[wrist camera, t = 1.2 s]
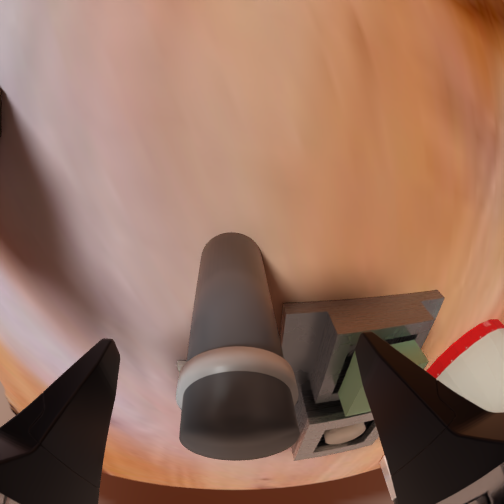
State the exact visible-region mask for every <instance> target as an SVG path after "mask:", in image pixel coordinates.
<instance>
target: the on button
mask: <svg viewBox="0 0 504 504" xmlns="http://www.w3.org/2000/svg"><path fill="white" fill-rule="evenodd" d="M391 346H392V347H394V348H395V349H396V350H398V351H399V352H400V353H402V354H403V355H405V356H406V357H407V358H409V359H410V360H411V361H413V362H414V363H415V364H417V365H418V366H420V367H421V368H422V369H424V368H425V367H426V365H427V363H428V362H429V361H428V360H427V358H426V357H425V355H424V354H423V352H422V351H421V349H420V347H419V346H418V344H417V343H416V341H415V340H411V341H406V342H401V343H396V344H391ZM338 396H339V399H340V402H341V405H342V408H343V411H344V414H345V417H347V416H352V415H356V414H361V413H365V412H369V411H371V409H370V406H369V403H368V400H367V397H366V394H365V391H364V388H363V385H362V380H361V376H360V371H359V367H358V363H357V358H356V354H355V351H354V354H353V357H352V359H351V362H350V364H349V367H348V370H347V372H346V375H345V377H344V380H343V382H342V384H341V387H340V389H339V391H338Z"/></svg>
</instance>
